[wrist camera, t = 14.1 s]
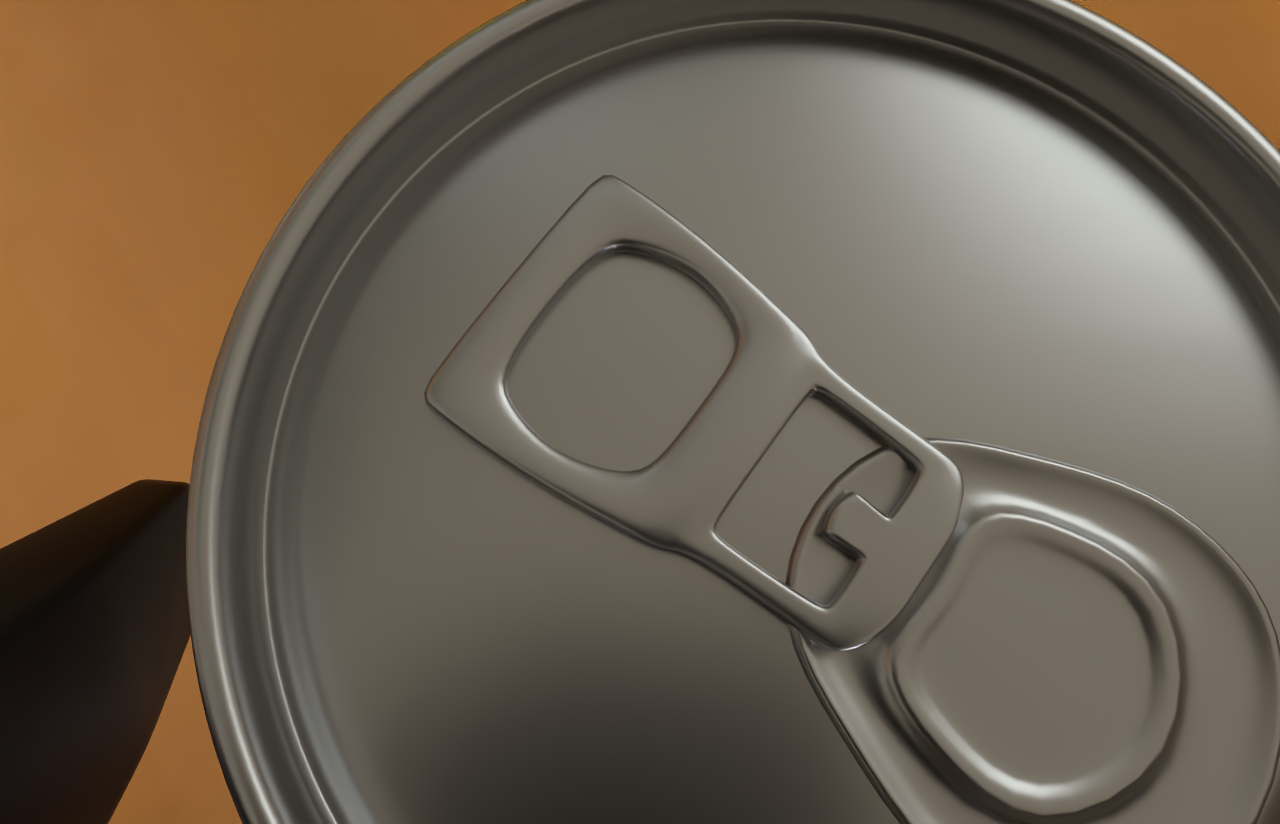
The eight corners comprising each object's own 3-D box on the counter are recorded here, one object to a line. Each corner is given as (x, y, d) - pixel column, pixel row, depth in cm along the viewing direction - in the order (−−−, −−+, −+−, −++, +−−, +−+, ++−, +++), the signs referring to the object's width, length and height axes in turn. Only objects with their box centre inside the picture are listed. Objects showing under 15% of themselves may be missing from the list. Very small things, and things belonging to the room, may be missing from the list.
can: (714, 887, 15) (1110, 1848, 3) (393, 636, 15) (-268, 649, 4) (933, 552, 16) (1794, 345, 4) (628, 334, 17) (671, -343, 5)
